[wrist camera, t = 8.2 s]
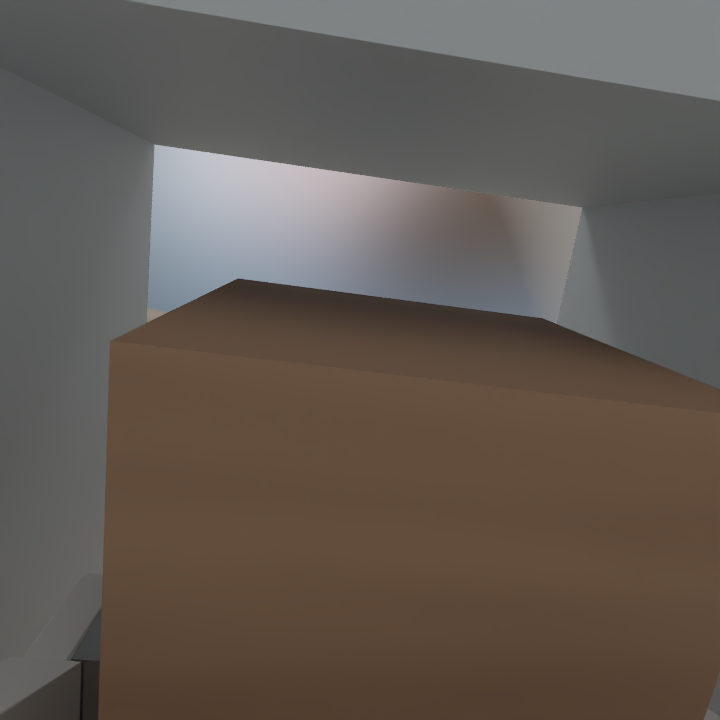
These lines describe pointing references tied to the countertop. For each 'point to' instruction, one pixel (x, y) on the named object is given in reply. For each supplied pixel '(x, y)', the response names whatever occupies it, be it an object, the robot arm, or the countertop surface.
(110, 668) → the walnut block
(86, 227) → the tunnel
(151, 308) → the countertop surface
